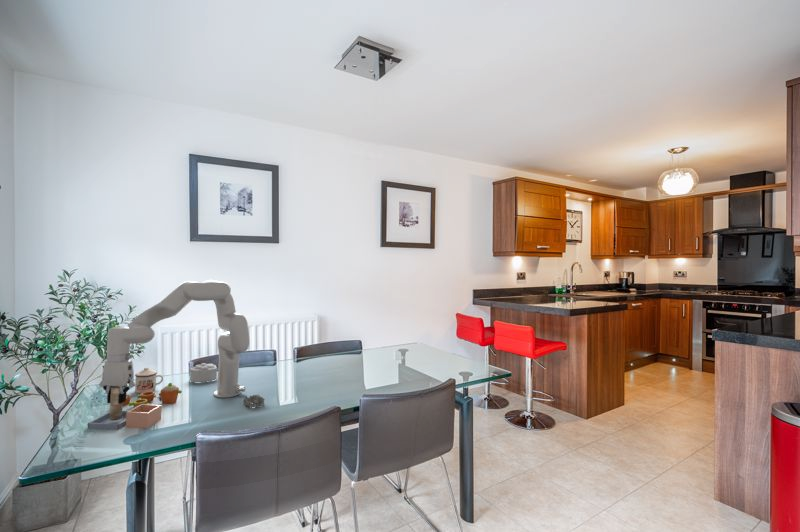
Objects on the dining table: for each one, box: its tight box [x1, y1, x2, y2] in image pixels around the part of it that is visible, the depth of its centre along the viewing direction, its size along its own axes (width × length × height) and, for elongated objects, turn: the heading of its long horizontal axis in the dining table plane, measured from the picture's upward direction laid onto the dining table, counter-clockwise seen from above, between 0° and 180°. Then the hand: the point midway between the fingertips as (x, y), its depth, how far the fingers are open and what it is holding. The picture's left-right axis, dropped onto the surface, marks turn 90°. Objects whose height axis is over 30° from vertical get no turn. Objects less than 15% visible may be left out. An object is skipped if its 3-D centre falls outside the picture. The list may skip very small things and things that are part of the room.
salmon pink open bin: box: [125, 403, 163, 429], centre depth 152 cm, size 9×9×7 cm
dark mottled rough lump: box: [242, 393, 266, 409], centre depth 179 cm, size 11×8×4 cm
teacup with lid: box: [134, 367, 164, 394], centre depth 191 cm, size 12×9×12 cm
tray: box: [87, 409, 129, 431], centre depth 152 cm, size 12×13×3 cm
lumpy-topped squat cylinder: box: [189, 362, 218, 383], centre depth 210 cm, size 10×13×9 cm
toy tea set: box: [122, 382, 183, 408], centre depth 174 cm, size 26×16×10 cm, turn 137°
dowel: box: [109, 386, 123, 421], centre depth 152 cm, size 4×4×13 cm
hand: (116, 401), depth 152 cm, fingers closed on dowel, 3 cm apart
